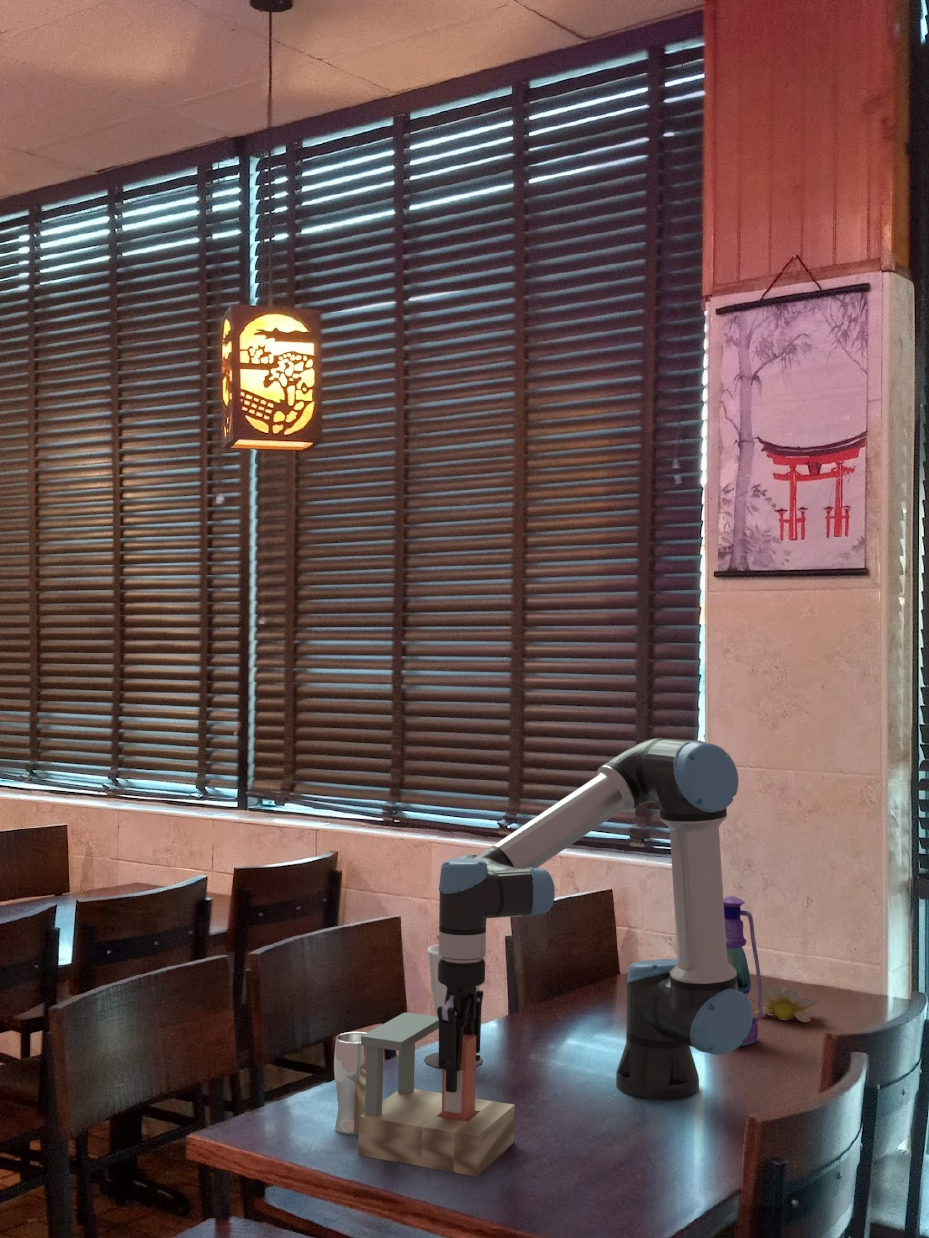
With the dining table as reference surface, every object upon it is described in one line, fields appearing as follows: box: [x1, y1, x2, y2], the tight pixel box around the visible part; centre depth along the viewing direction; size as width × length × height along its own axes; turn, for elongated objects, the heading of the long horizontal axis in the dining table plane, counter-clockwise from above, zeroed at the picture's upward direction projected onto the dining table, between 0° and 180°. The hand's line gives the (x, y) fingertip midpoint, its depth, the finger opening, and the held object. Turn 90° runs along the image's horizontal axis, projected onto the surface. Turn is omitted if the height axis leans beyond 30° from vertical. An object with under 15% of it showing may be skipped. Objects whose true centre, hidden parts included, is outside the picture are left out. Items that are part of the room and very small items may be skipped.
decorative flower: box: [750, 985, 820, 1023], centre depth 292 cm, size 15×11×10 cm
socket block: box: [357, 1088, 516, 1178], centre depth 209 cm, size 20×16×6 cm
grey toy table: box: [361, 1012, 439, 1117], centre depth 212 cm, size 7×16×12 cm, turn 157°
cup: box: [423, 943, 484, 1069], centre depth 256 cm, size 12×12×22 cm
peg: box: [441, 1034, 477, 1122], centre depth 208 cm, size 4×4×14 cm
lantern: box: [723, 895, 763, 1047], centre depth 274 cm, size 13×12×30 cm
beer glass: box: [333, 1031, 367, 1136], centre depth 217 cm, size 7×7×15 cm
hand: (458, 1106), depth 208 cm, fingers closed on peg, 4 cm apart
